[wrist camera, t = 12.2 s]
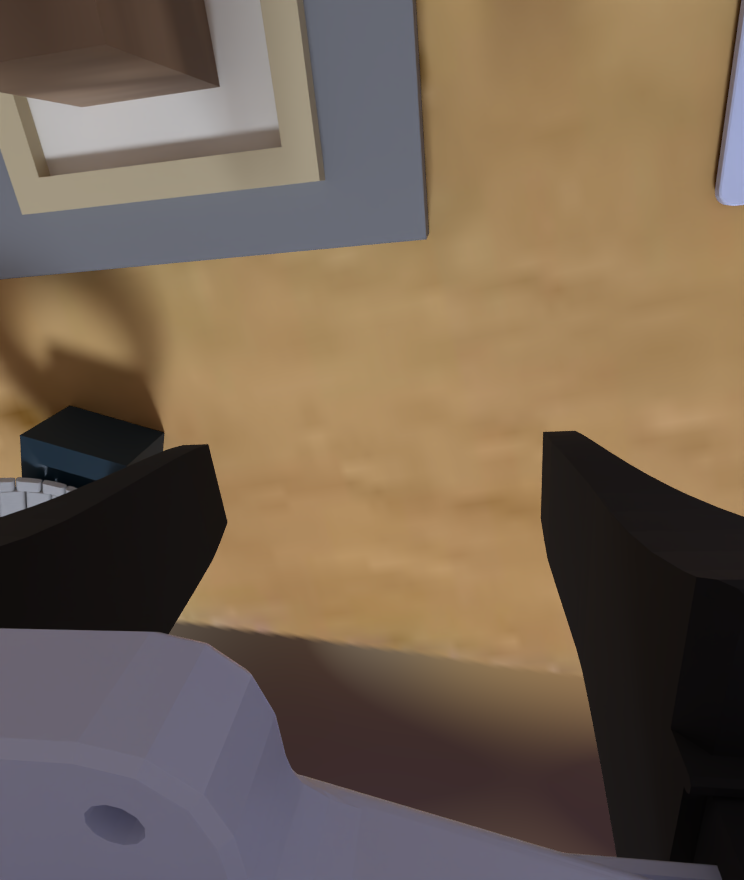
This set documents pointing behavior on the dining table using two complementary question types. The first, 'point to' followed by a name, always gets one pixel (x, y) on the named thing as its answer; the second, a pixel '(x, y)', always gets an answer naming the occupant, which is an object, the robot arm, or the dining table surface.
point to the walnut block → (104, 49)
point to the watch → (74, 455)
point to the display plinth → (229, 149)
